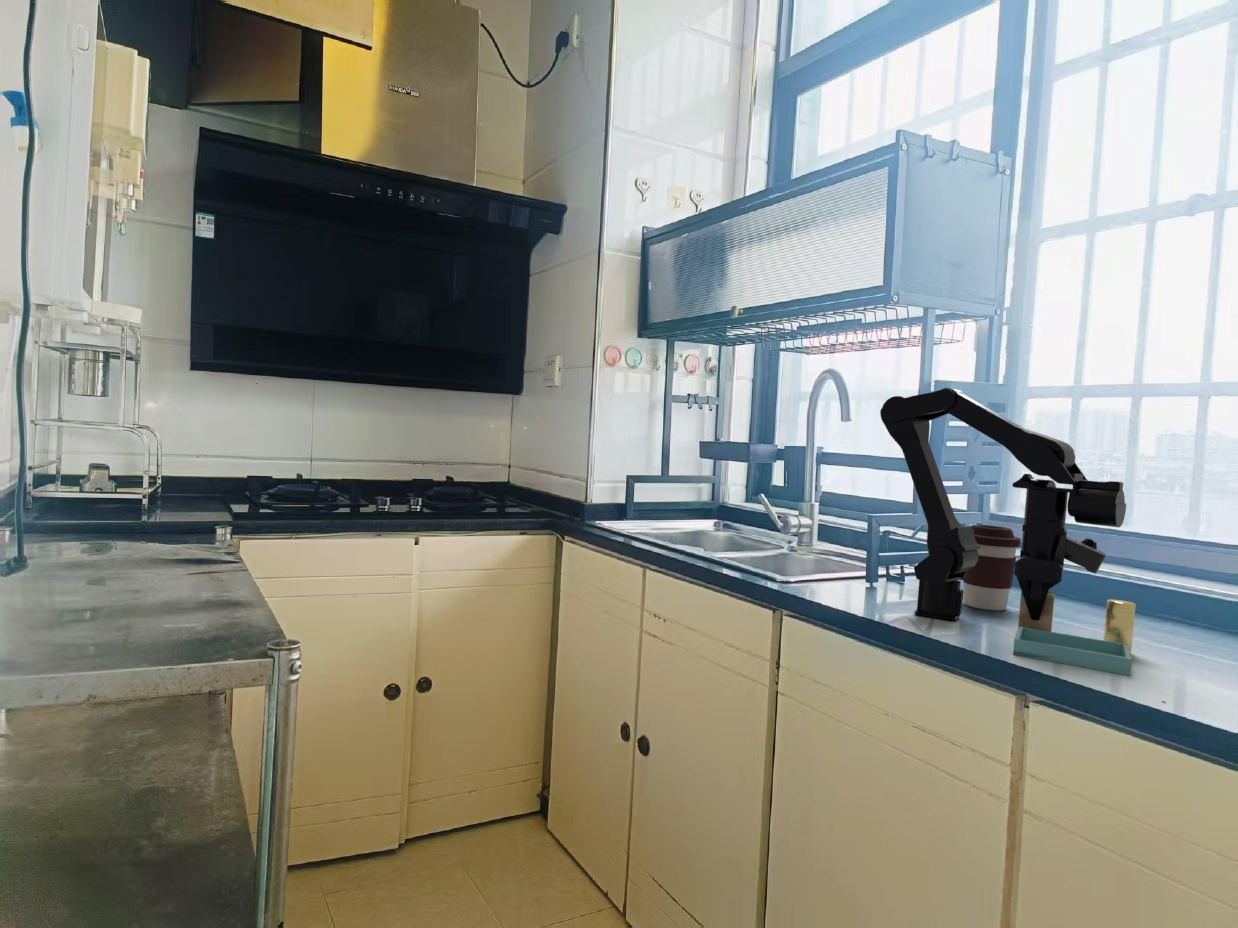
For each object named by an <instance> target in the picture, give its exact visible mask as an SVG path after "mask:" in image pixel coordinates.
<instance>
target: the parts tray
mask: <svg viewBox="0 0 1238 928" xmlns="http://www.w3.org/2000/svg"><path fill="white" fill-rule="evenodd" d="M1016 631H1017V632H1016V634H1015V637H1014V640H1013V641H1014V642H1013V651H1012V655H1014V656H1020V657H1026V658H1031V659H1037V660H1043V661H1048V662H1052V663H1058V664H1063V665H1064V664H1065V665H1071V666H1075V667H1080V668H1081V667H1082V668H1087V669H1092V670H1097V671H1104V672H1109V673H1114V674H1119V675H1126V676H1131V673H1132V671H1131V670H1132V664H1133V663H1132V661H1133V659H1132V653H1131V654H1130V651H1129V647H1128V644H1123V643H1117V642H1111V641H1105V640H1104V639H1098V638H1092V637H1085V636H1080V635H1072V634H1067V633H1063V632H1062V633H1061V632H1055V631H1051V632H1050V631H1043V630H1037V629H1031V628H1025V627H1019V628H1018V627H1017V630H1016Z"/></svg>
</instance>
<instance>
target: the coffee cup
mask: <svg viewBox="0 0 1238 928" xmlns="http://www.w3.org/2000/svg"><path fill="white" fill-rule="evenodd" d="M971 526H972V528H973V531H974V537H975V540H976V542H977V544H978V545H979V546H980V549H977V551H978V561H977V563H976V565H975V566H974V567H973V568H972V569H971V570H969V571H967V573H966V575H965V577H964V579H963V580H962V582H963V591H964V592H963V603H964V604H965V605H966V606H967V607H971V608H974V609H978V610H985V611H995V612H997V611H999V612H1000V611H1005V610H1006V609H1008V603H1009V597H1010V596H1009V594H1010V590H1011V589H1012V585H1013V579H1014V571H1015V563H1016V561H1017V557H1016V554H1017V553H1016V552H1017V548H1019V547H1021V545H1022V540H1021V539H1022V538H1020V537H1017V536H1015V535H1014V532H1013V529H1012V528H1009V527H1006V526H998V525H987V524H972V525H971Z"/></svg>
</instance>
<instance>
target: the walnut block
mask: <svg viewBox="0 0 1238 928" xmlns="http://www.w3.org/2000/svg"><path fill="white" fill-rule="evenodd" d="M1055 595H1056V592H1052V591H1050V592H1049V591H1048V594H1047V597H1046V600H1045V603H1044V606H1043V610H1042V613H1041V616H1040V619H1039V620H1038V621H1037V620H1032V619H1031V617H1030V614H1029V611H1028V608H1027V605H1026V602H1025V599H1024V597H1023V594H1022V591H1021V593H1020V603H1019V615H1018V626H1017V629H1018V628H1019V627H1025V628H1031V629H1037V630H1043V631H1050V632H1052V630H1053V629H1052V627H1053V619H1054V618H1053V617H1054V607H1055V606H1054V604H1055Z"/></svg>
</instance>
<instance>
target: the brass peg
mask: <svg viewBox="0 0 1238 928" xmlns="http://www.w3.org/2000/svg"><path fill="white" fill-rule="evenodd" d="M1135 616H1136V603H1135V602H1131V601H1127V600H1123V599H1122V600H1119V599H1107V600H1106V610H1105V621H1104V630H1103V631H1104V632H1103V640H1105V641H1111V642H1117V643H1123V644H1128V647H1129V651H1130V654H1131V655H1132V648H1133V647H1132V646H1133V639H1134V637H1133V636H1134V628H1135V627H1134V625H1135Z"/></svg>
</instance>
